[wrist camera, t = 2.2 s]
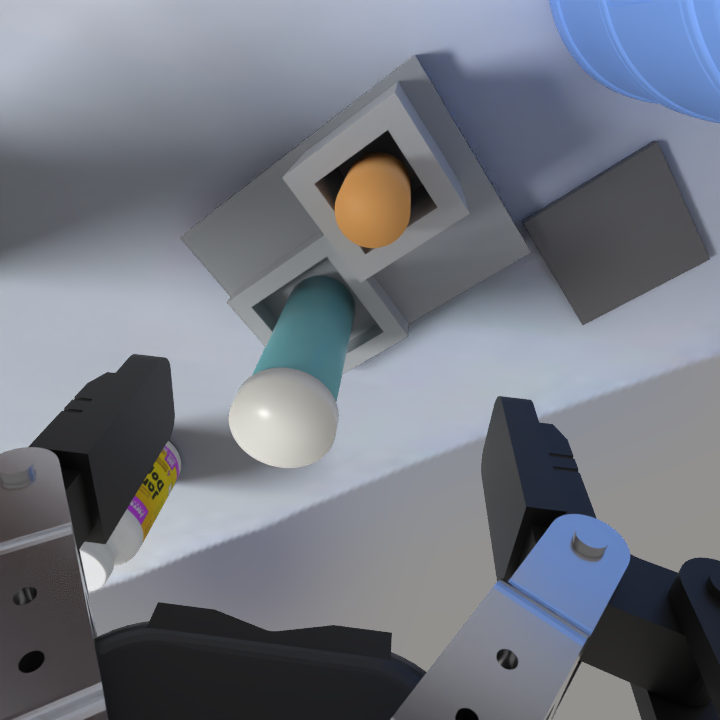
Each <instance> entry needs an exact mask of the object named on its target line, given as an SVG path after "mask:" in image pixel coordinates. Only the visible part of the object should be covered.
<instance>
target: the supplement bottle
mask: <svg viewBox="0 0 720 720" xmlns="http://www.w3.org/2000/svg"><path fill="white" fill-rule="evenodd" d="M180 471H181V459H180V456H179V453H178V451H177V450H176V448H175V447H174V446H173V445H172V444H171V443H170V442H169V441H168V442H167V443H166V445H165V447H164V448H163V450H162V452H161V453H160V455H159V457H158V458H157V460H156V462H155V463H154V465H153V467H152V468H151V470H150V472H149V473H148V475H147V477H146V478H145V480H144V482H143V483H142V485H141V487H140V488H139V490H138V492H137V493H136V495H135V496H134V498H133V500H132V501H131V503H130V505H129V506H128V508H127V510H126V511H125V513H124V515H123V516H122V518H121V520H120V521H119V523H118V525H117V526H116V528H115V530H114V531H113V533H112V535H111V536H110V538H109V540H108V541H107V543H106V544H99V543H91V542H84V543H83V545H82V546H81V548H80V549H79V550H80V554H81V558H82V563H83V568H84V573H85V578H86V583H87V587H88V591H94V590H97V589H99V588H101V587H102V586H103V585H104V584H105V583H106V581H107V579H108V578H109V576H110V574H111V573H112V571H113V568H114V566H118V565H121V564H124V563H126V562H127V561H129V560H130V559H131V558H133V557H134V556H135V554H136V553H137V552H138V550H139V548H140V547H141V545H142V543H143V542H144V540H145V538H146V536H147V534H148V532H149V530H150V529H151V527H152V525H153V523H154V521H155V520H156V518H157V516H158V514H159V512H160V510H161V509H162V507H163V505H164V503H165V501H166V499H167V498H168V496H169V494H170V492H171V490H172V488H173V486H174V485H175V483H176V481H177V479H178V477H179V474H180Z"/></svg>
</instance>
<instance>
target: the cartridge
mask: <svg viewBox="0 0 720 720" xmlns="http://www.w3.org/2000/svg"><path fill="white" fill-rule="evenodd" d="M354 315H355V302H354V299H353V296H352V294H351V293H350V291H349V290H348V289H347V287H346V286H344V285H343V284H342V283H341V282H339V281H338V280H336V279H333V278H331V277H327V276H312V277H308V278H306V279H304V280H302V281H300V282H299V283H298V284H297V285H296V286H295V287H294V288H293V290H292V292H291V294H290V296H289V298H288V300H287V302H286V304H285V306H284V309H283V311H282V313H281V315H280V317H279V319H278V321H277V324H276V326H275V328H274V330H273V332H272V334H271V336H270V338H269V341H268V343H267V345H266V347H265V349H264V351H263V353H262V356H261V358H260V360H259V362H258V364H257V366H256V368H255V371H254V373H253V375H252V376H251V377H249V378H248V379H247V380H246V381H245V382H244V383H243V384H242V386H241V387H240V389H239V391H238V393H237V395H236V397H235V399H234V401H233V403H232V405H231V408H230V412H229V425H230V430H231V433H232V435H233V437H234V439H235V440H236V442H237V443H238V445H239V446H240V447H241V448H242V449H243V450H244V451H245V452H246V453H247V454H249V455H250V456H251V457H253V458H255V459H256V460H258V461H260V462H262V463H265V464H268V465H271V466H275V467H281V468H298V467H303V466H307V465H310V464H312V463H314V462H316V461H318V460H319V459H321V458H322V457H323V456H324V455H325V454H326V453H327V452H328V451H329V450H330V448H331V447H332V444H333V442H334V439H335V435H336V430H337V425H338V417H339V415H338V407H337V404H336V401H337V396H338V391H339V387H340V382H341V377H342V372H343V368H344V363H345V358H346V353H347V349H348V344H349V339H350V334H351V329H352V325H353V320H354Z"/></svg>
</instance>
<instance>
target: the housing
mask: <svg viewBox="0 0 720 720" xmlns="http://www.w3.org/2000/svg"><path fill="white" fill-rule="evenodd" d="M374 152H382V153H387V154H390V155H392V156H394V157H396V158H397V159H399V160H400V161H401V162H402V163H403V164H404V166H405V167H406V169H407V171H408V173H409V176H410V180H411V211H410V219H409V223H408V225H407V228H406V229H405V231H404V233H403V234H402V235H401V236H400V237H399V238H398V239H397V240H396V241H394V242H393V243H391V244H389V245H387V246H384V247H380V248H366V247H362V246H359V245H357V244H355V243H353V242H352V241H350V240H349V239H348V238H347V237H346V236H345V235H344V234H343V233H342V232H341V230H340V228H339V226H338V224H337V221H336V218H335V202H336V198H337V195H338V193H339V191H340V189H341V187H342V184H343V182H344V180H345V178H346V176H347V174H348V171H349V170H350V168H351V166H352V165H353V164H354V163H355V161H357V160H358V159H359V158H361V157H362V156H364V155H366V154H369V153H374ZM181 240H182V241H183V242H184V243H185V244H186V245H187V247H188V248H189V249H190V250H191V251H192V252H193V254H194V255H195V256H196V257H197V258H198V259H199V261H200V262H201V263H202V264H203V265H204V266H205V268H206V269H207V270H208V271H209V272H210V273H211V275H212V276H213V277H214V278H215V279H216V280H217V282H218V283H219V284H220V285H221V286H222V287H223V289H224V290H225V291H226V292H227V293H228V294H229V296H230V299H229V300H228V301H227V303H228V305H229V306H230V307H231V308H232V309H233V310H234V312H235V313H236V314H237V315H238V316H239V317H240V318H241V320H242V321H243V322H244V323H245V324H246V325H247V327H248V328H249V329H250V330H251V331H252V332H253V333H254V335H255V336H256V337H257V338H258V339H259V340H260V342H261V343H262V344H263V345H264V346H265V347H266V345H267V343H268V341H269V338H270V336H271V334H272V332H273V330H274V328H275V326H276V324H277V321H278V319H279V317H280V315H281V313H282V311H283V309H284V306H285V304H286V302H287V300H288V298H289V296H290V294H291V292H292V290H293V288H294V287H295V286H296V285H297V284H298V283H299V282H300V281H302V280H304V279H306V278H308V277H312V276H327V277H331V278H333V279H336V280H338V281H339V282H341V283H342V284H343V285H344V286H346V287H347V289H348V290H349V291H350V293H351V294H352V296H353V299H354V302H355V315H354V320H353V325H352V329H351V334H350V339H349V344H348V349H347V353H346V358H345V363H344V368H343V372H342V374H344V373H346V372H348V371H349V370H351V369H353V368H354V367H356V366H358V365H360V364H361V363H363V362H365V361H367V360H368V359H370V358H372V357H374V356H375V355H377V354H379V353H381V352H382V351H384V350H386V349H387V348H389V347H391V346H393V345H394V344H396V343H398V342H400V341H401V340H403V339H405V338H407V337H408V324H410V323H412V322H413V321H415V320H417V319H418V318H420V317H422V316H424V315H425V314H427V313H429V312H430V311H432V310H434V309H436V308H437V307H439V306H441V305H442V304H444V303H446V302H448V301H449V300H451V299H453V298H454V297H456V296H458V295H460V294H461V293H463V292H465V291H466V290H468V289H470V288H472V287H473V286H475V285H477V284H478V283H480V282H482V281H483V280H485V279H487V278H489V277H490V276H492V275H494V274H495V273H497V272H499V271H501V270H502V269H504V268H506V267H507V266H509V265H511V264H513V263H514V262H516V261H518V260H519V259H521V258H523V257H525V256H526V255H528V254H530V253H531V252H530V250H529V248H528V246H527V244H526V242H525V240H524V239H523V237H522V235H521V234H520V232H519V230H518V229H517V227H516V225H515V223H514V222H513V220H512V218H511V217H510V215H509V213H508V212H507V210H506V208H505V206H504V205H503V203H502V201H501V200H500V198H499V196H498V195H497V193H496V191H495V189H494V188H493V186H492V184H491V183H490V181H489V179H488V178H487V176H486V174H485V172H484V171H483V169H482V167H481V166H480V164H479V162H478V161H477V159H476V157H475V155H474V154H473V152H472V150H471V149H470V147H469V145H468V144H467V142H466V140H465V139H464V137H463V135H462V133H461V132H460V130H459V128H458V127H457V125H456V123H455V122H454V120H453V118H452V116H451V115H450V113H449V111H448V110H447V108H446V106H445V105H444V103H443V101H442V99H441V98H440V96H439V94H438V93H437V91H436V89H435V88H434V86H433V84H432V82H431V81H430V79H429V77H428V76H427V74H426V72H425V71H424V69H423V67H422V65H421V64H420V62H419V60H418V59H417V57H416V55H414V56H413V57H412V58H410V59H409V60H408V61H407V62H405V63H404V64H403V65H401V66H400V67H399V68H397V69H396V70H395V71H394V72H392V73H391V74H390V75H388V76H387V77H386V78H385V79H383V80H382V81H381V82H379V83H378V84H377V85H376V86H374V87H373V88H372V89H370V90H369V91H368V92H366V93H365V94H364V95H363V96H361V97H360V98H359V99H357V100H356V101H355V102H354V103H352V104H351V105H350V106H348V107H347V108H346V109H345V110H343V111H342V112H341V113H339V114H338V115H337V116H335V117H334V118H333V119H332V120H330V121H329V122H328V123H326V124H325V125H324V126H323V127H321V128H320V129H319V130H317V131H316V132H315V133H314V134H312V135H311V136H310V137H308V138H307V139H306V140H304V141H303V142H302V143H301V144H299V145H298V146H297V147H295V148H294V149H293V150H292V151H290V152H289V153H288V154H286V155H285V156H284V157H282V158H281V159H280V160H279V161H277V162H276V163H275V164H273V165H272V166H271V167H270V168H268V169H267V170H266V171H264V172H263V173H262V174H261V175H259V176H258V177H257V178H255V179H254V180H253V181H251V182H250V183H249V184H248V185H246V186H245V187H244V188H242V189H241V190H240V191H239V192H237V193H236V194H235V195H233V196H232V197H231V198H230V199H228V200H227V201H226V202H224V203H223V204H222V205H220V206H219V207H218V208H217V209H215V210H214V211H213V212H211V213H210V214H209V215H208V216H206V217H205V218H204V219H202V220H201V221H200V222H199V223H197V224H196V225H195V226H193V227H192V228H191V229H190V230H188V231H187V232H186V233H185V234H184V235H183V236H182V237H181Z"/></svg>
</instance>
